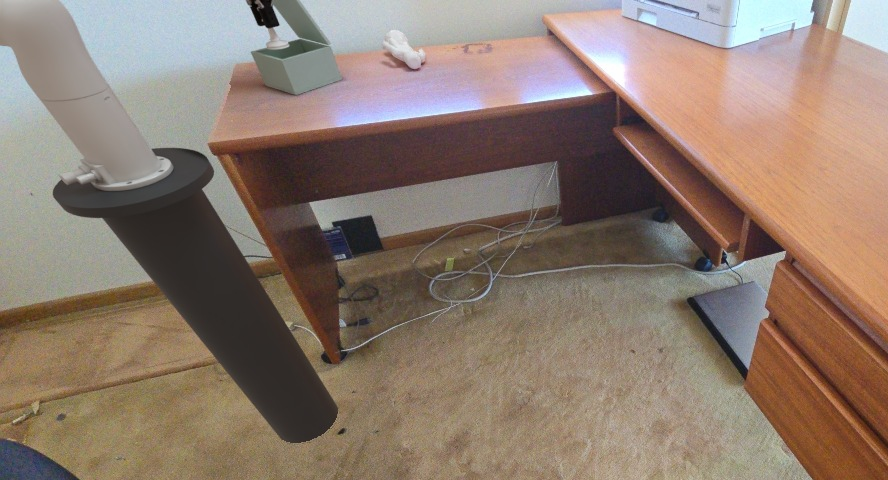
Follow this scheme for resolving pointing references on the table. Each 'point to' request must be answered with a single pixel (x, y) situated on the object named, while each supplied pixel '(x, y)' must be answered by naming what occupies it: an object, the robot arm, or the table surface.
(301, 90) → the gray-green box
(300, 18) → the lid
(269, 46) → the chess piece
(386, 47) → the figure
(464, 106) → the table surface
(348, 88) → the table surface
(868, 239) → the table surface
